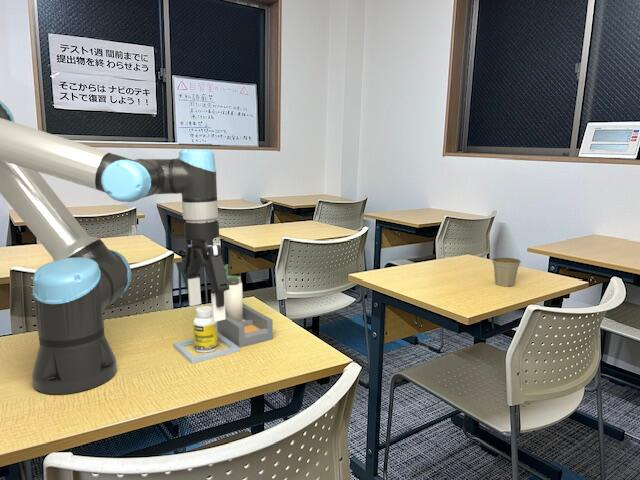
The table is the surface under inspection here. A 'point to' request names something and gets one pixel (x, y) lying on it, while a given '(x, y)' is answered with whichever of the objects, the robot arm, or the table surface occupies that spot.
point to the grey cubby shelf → (247, 328)
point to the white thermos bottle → (234, 300)
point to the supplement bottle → (205, 330)
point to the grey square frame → (194, 359)
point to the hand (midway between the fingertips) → (206, 312)
